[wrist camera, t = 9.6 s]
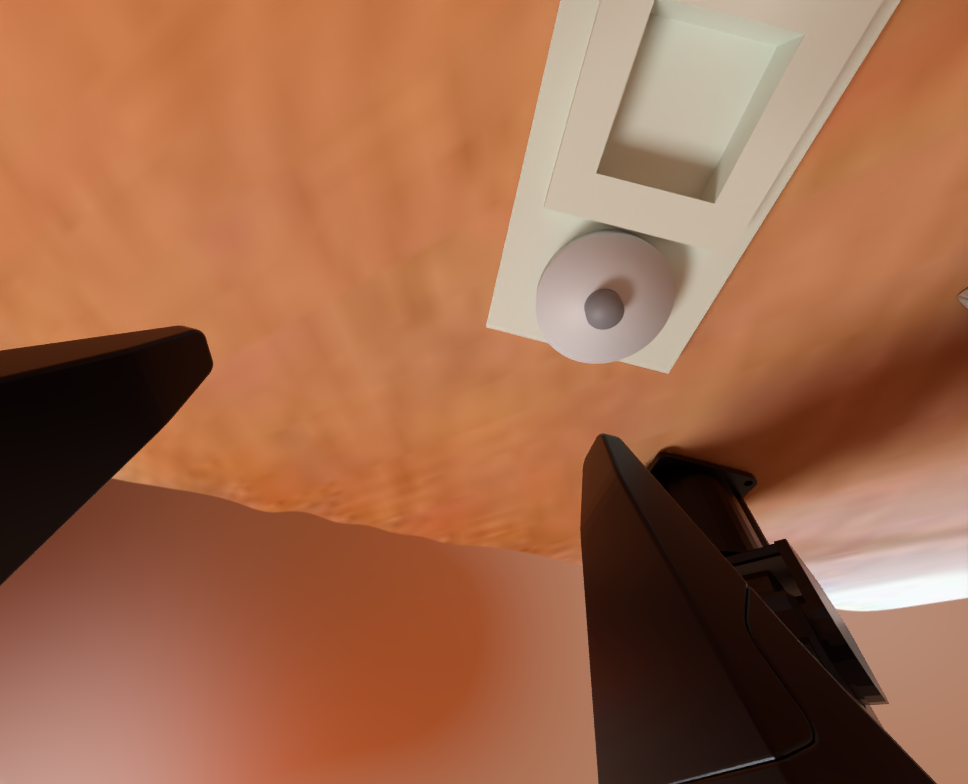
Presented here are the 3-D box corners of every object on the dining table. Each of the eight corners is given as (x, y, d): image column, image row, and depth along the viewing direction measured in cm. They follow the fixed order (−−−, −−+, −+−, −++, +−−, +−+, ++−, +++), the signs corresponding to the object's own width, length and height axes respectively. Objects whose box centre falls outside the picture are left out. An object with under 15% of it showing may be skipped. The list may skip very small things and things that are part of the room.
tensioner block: (881, 0, 11) (975, -42, 9) (662, 364, 19) (679, 395, 17) (579, -77, 11) (588, -141, 9) (488, 319, 19) (480, 343, 17)
